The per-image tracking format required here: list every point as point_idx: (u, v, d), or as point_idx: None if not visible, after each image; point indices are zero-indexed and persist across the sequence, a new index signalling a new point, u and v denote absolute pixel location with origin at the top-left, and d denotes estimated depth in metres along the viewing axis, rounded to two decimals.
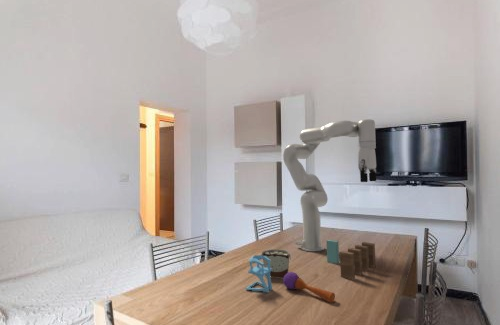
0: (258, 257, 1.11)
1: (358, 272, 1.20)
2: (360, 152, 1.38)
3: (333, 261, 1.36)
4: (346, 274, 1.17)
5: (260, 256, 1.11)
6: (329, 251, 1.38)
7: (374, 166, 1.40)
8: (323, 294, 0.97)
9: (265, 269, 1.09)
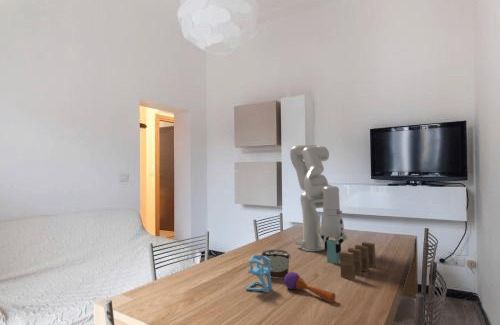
0: (258, 257, 1.11)
1: (358, 272, 1.20)
2: None
3: (333, 261, 1.36)
4: (346, 274, 1.17)
5: (260, 256, 1.11)
6: (330, 251, 1.38)
7: (334, 235, 1.35)
8: (324, 294, 0.97)
9: (265, 269, 1.09)
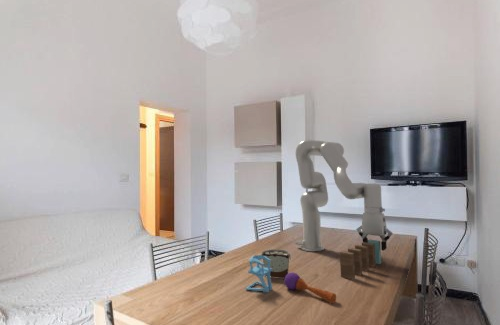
0: (258, 257, 1.11)
1: (358, 272, 1.20)
2: None
3: (375, 261, 1.34)
4: (346, 274, 1.17)
5: (260, 256, 1.11)
6: None
7: (377, 233, 1.33)
8: (324, 295, 0.97)
9: (265, 269, 1.09)
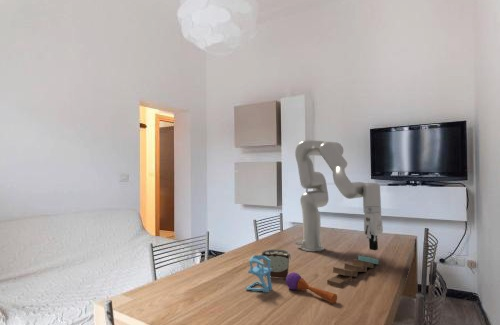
0: (258, 257, 1.11)
1: None
2: None
3: None
4: None
5: (260, 256, 1.11)
6: None
7: None
8: (325, 295, 0.96)
9: (265, 269, 1.09)
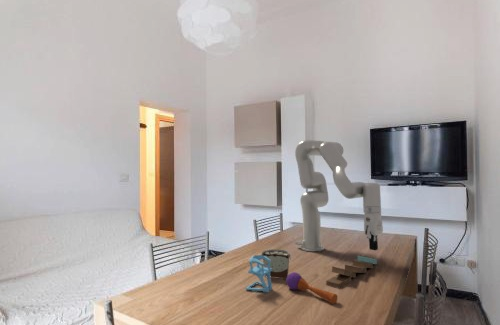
0: (258, 257, 1.11)
1: None
2: None
3: None
4: None
5: (260, 256, 1.11)
6: None
7: None
8: (325, 295, 0.96)
9: (265, 269, 1.09)
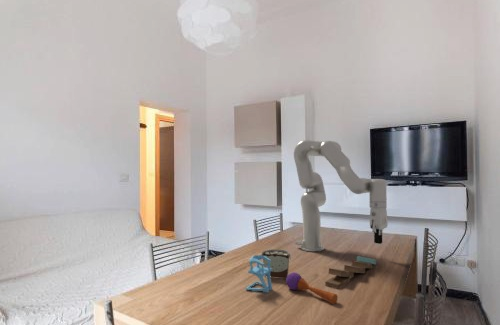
0: (258, 257, 1.11)
1: (350, 276, 1.16)
2: None
3: None
4: None
5: (260, 256, 1.11)
6: None
7: None
8: (325, 295, 0.96)
9: (265, 269, 1.09)
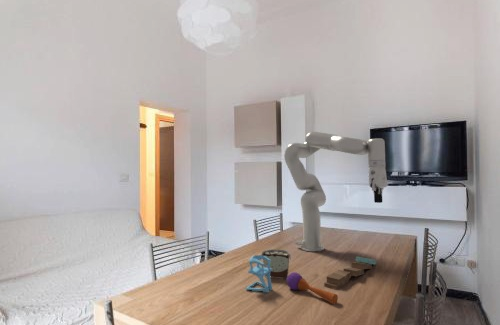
0: (258, 257, 1.11)
1: None
2: None
3: None
4: None
5: (260, 256, 1.11)
6: None
7: None
8: (326, 295, 0.96)
9: (265, 269, 1.09)
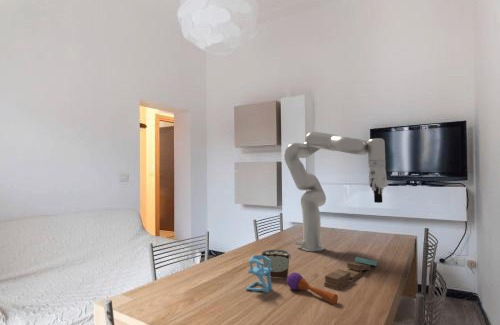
0: (258, 257, 1.11)
1: None
2: None
3: None
4: None
5: (260, 256, 1.11)
6: None
7: None
8: (326, 295, 0.96)
9: (265, 269, 1.09)
